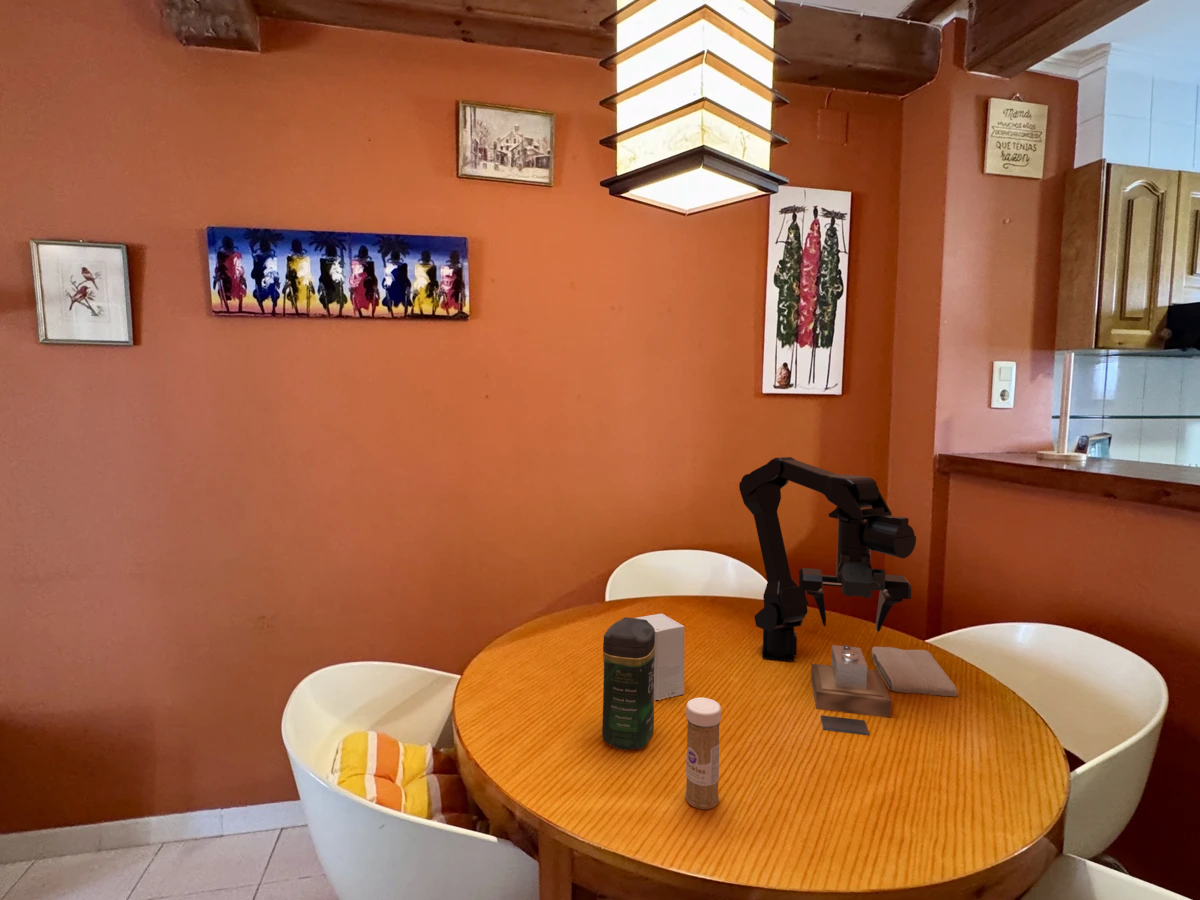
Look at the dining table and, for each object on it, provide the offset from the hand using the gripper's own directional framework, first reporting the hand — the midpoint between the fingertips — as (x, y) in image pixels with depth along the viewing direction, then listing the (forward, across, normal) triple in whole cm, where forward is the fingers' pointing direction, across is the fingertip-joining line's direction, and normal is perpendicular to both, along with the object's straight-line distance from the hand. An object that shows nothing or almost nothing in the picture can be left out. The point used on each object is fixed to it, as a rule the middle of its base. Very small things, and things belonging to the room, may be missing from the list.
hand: (850, 628), depth 112 cm
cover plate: (+12, -2, -14) cm, 19 cm away
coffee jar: (+12, -36, -26) cm, 46 cm away
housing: (+9, 0, -2) cm, 9 cm away
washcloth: (+13, +13, +11) cm, 21 cm away
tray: (+12, 0, -3) cm, 12 cm away
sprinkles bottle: (+12, -23, -39) cm, 47 cm away
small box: (+12, -34, -9) cm, 38 cm away
